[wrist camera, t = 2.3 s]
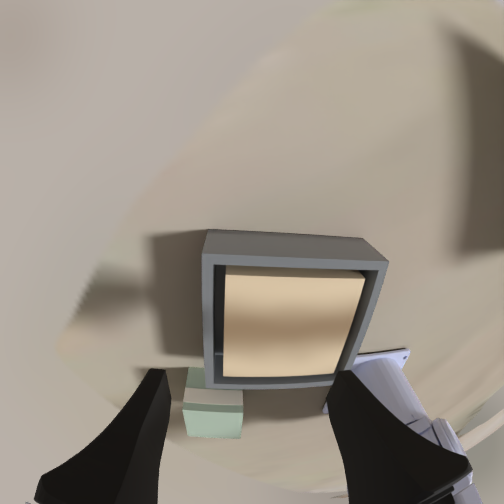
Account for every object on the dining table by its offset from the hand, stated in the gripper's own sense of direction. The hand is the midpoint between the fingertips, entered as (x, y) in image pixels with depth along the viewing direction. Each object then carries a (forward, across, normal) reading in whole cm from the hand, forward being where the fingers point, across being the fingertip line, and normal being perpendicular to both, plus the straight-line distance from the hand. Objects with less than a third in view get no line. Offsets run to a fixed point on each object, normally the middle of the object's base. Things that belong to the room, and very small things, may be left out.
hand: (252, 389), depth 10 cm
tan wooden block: (+9, -3, +2) cm, 10 cm away
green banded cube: (+10, +2, +12) cm, 16 cm away
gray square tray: (+10, -3, +2) cm, 11 cm away
